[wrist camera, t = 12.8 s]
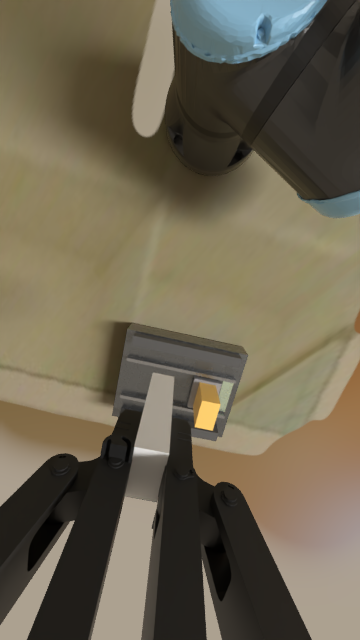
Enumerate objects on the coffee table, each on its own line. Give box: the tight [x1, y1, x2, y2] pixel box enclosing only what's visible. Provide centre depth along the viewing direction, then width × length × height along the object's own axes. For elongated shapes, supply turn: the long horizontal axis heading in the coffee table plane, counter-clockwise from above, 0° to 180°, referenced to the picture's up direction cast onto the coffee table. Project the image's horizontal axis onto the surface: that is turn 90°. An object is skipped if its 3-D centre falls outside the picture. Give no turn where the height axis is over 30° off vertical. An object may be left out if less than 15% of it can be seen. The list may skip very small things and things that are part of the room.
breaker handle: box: [187, 376, 222, 431], centre depth 41 cm, size 6×5×7 cm
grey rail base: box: [112, 323, 248, 437], centre depth 46 cm, size 18×22×5 cm
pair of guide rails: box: [118, 332, 242, 441], centre depth 44 cm, size 17×19×2 cm
